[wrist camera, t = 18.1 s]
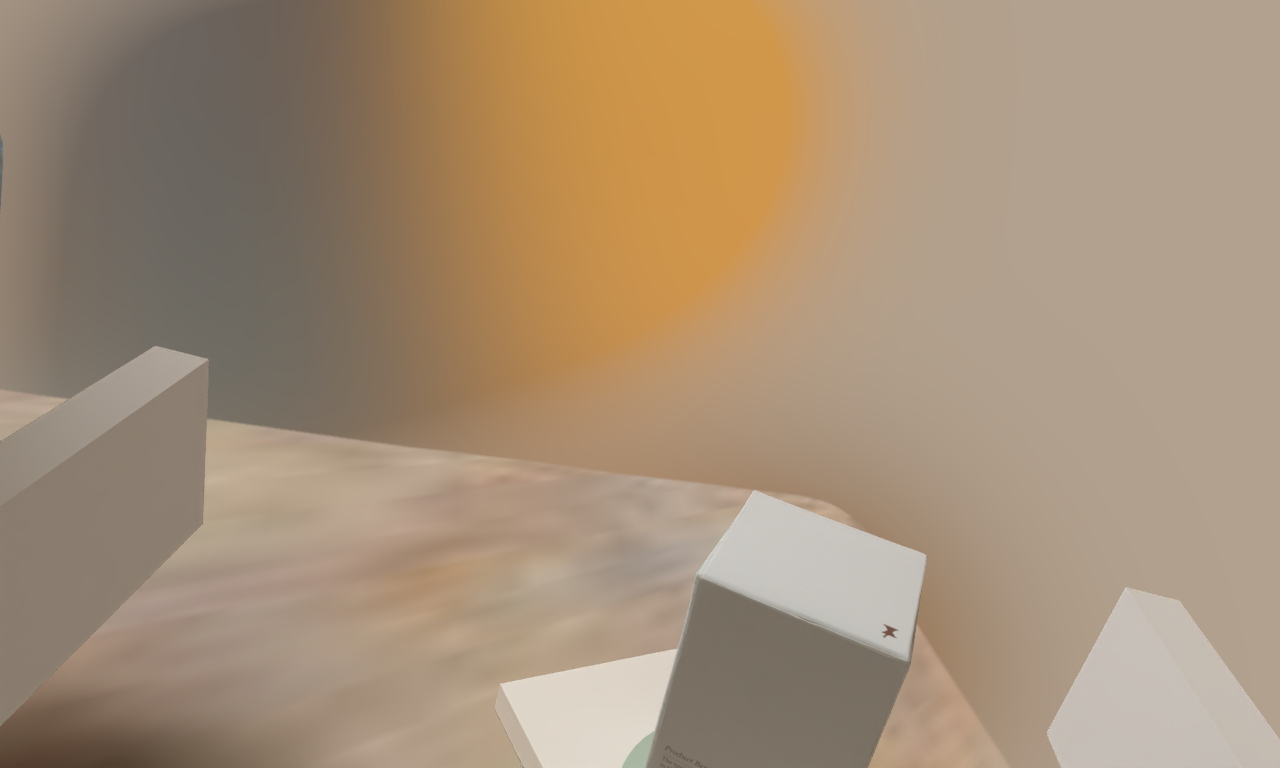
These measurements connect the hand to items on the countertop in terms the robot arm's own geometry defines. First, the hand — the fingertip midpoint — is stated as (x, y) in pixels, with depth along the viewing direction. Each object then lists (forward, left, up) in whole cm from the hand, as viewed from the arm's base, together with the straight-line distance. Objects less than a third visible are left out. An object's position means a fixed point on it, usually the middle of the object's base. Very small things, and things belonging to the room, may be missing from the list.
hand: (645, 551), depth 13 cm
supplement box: (-10, +15, -23) cm, 29 cm away
